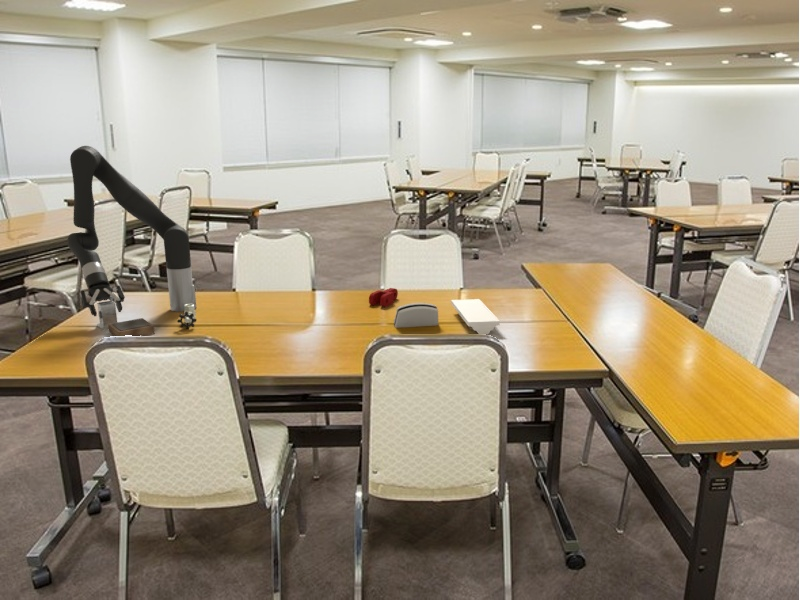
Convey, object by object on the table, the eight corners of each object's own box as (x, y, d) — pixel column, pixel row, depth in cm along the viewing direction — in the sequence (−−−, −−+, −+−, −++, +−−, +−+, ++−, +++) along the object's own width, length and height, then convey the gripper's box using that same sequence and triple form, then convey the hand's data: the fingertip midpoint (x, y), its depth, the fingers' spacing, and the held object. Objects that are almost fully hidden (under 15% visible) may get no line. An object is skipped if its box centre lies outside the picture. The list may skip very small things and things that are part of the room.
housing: (115, 323, 240) (112, 299, 238) (120, 327, 236) (118, 303, 233) (97, 326, 237) (94, 302, 234) (102, 330, 232) (99, 306, 229)
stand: (143, 325, 237) (142, 317, 236) (154, 333, 228) (153, 325, 227) (109, 332, 230) (108, 323, 229) (119, 340, 221) (118, 331, 220)
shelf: (467, 336, 227) (468, 322, 226) (450, 312, 256) (451, 299, 255) (499, 335, 229) (499, 321, 227) (478, 311, 257) (479, 299, 256)
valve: (182, 320, 244) (178, 330, 233) (180, 303, 242) (176, 312, 231) (200, 319, 245) (196, 329, 234) (198, 303, 244) (195, 311, 232)
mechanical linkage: (383, 308, 261) (383, 296, 260) (368, 306, 265) (368, 294, 263) (402, 299, 275) (402, 288, 273) (388, 297, 278) (388, 286, 277)
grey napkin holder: (435, 321, 244) (438, 299, 238) (438, 328, 240) (441, 306, 234) (392, 323, 241) (394, 301, 235) (394, 331, 237) (396, 309, 231)
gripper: (75, 273, 232) (88, 311, 227) (116, 268, 241) (129, 304, 236) (73, 285, 238) (86, 322, 232) (114, 279, 246) (126, 315, 241)
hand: (108, 313), depth 234 cm, fingers open, 8 cm apart
